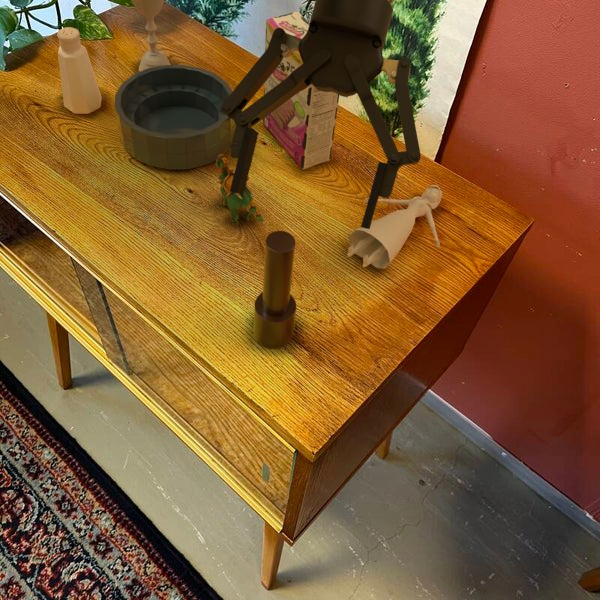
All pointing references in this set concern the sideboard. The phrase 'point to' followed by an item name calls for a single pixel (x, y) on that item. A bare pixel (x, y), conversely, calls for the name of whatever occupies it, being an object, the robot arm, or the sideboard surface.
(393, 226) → the woman figurine
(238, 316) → the sideboard surface
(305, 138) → the candy bar box
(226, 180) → the figurine
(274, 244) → the pestle
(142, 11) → the chalice
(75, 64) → the pepper shaker
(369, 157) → the sideboard surface
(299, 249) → the sideboard surface
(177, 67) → the bowl
